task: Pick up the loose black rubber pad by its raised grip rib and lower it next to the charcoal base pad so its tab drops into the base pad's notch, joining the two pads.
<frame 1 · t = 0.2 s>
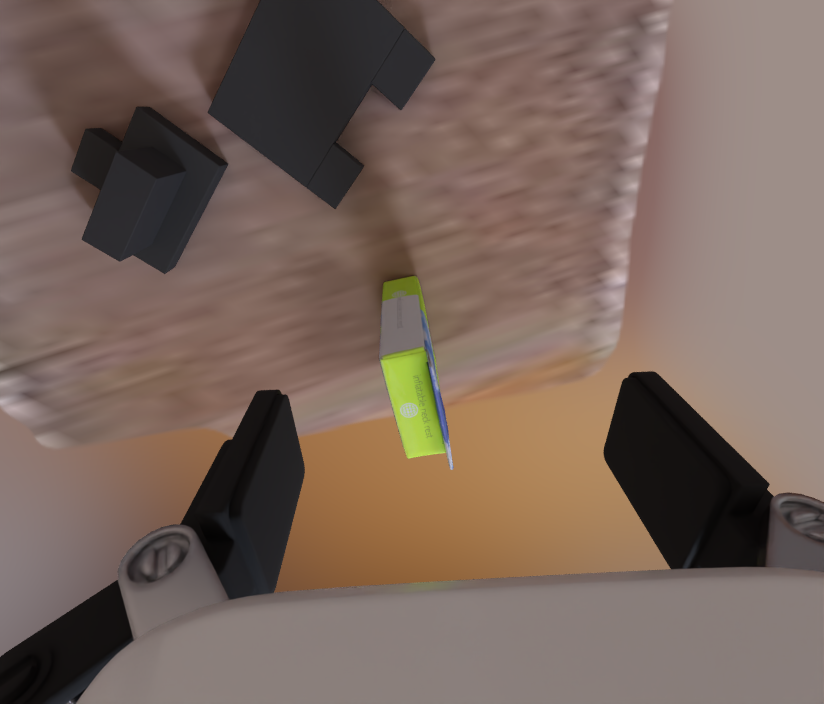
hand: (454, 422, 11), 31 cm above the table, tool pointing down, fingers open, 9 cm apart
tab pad: (163, 194, 37), on the table
box: (411, 321, 44), on the table
base pad: (323, 87, 33), on the table
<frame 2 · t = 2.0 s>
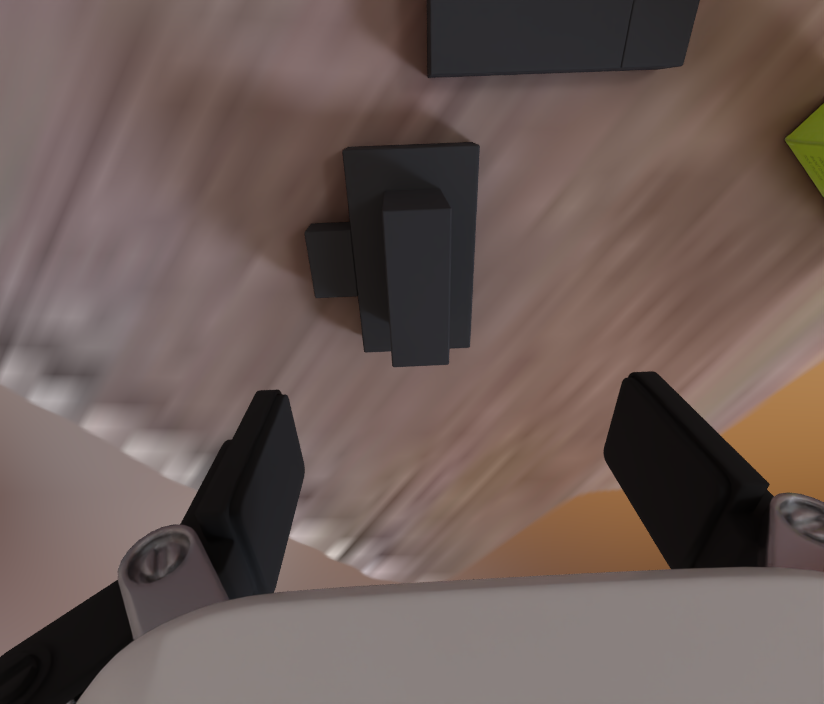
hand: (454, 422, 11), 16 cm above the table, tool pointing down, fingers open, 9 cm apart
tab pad: (413, 251, 25), on the table
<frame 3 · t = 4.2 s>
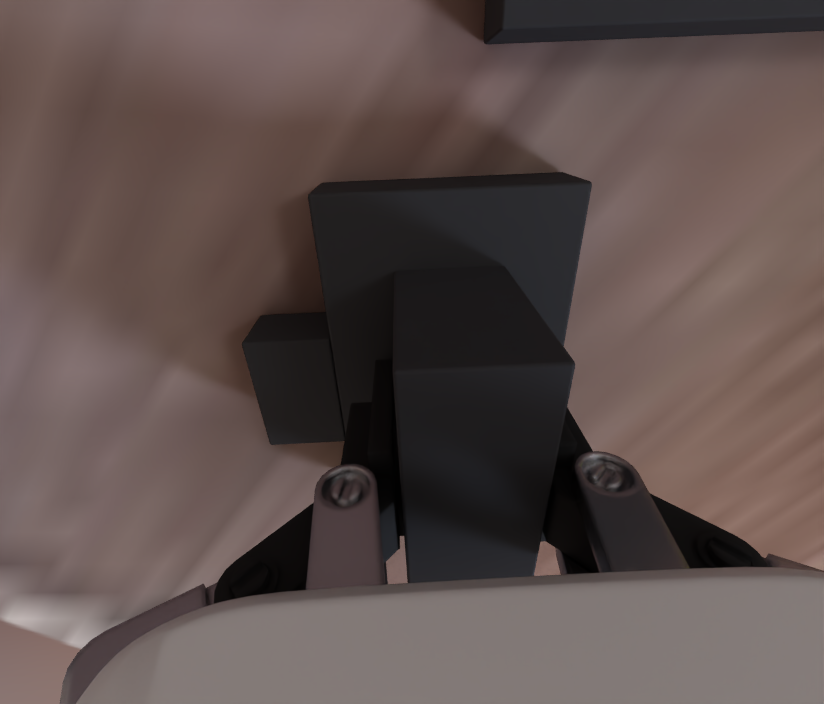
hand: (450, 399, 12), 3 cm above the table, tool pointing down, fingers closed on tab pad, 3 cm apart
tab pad: (442, 356, 15), on the table, touching gripper
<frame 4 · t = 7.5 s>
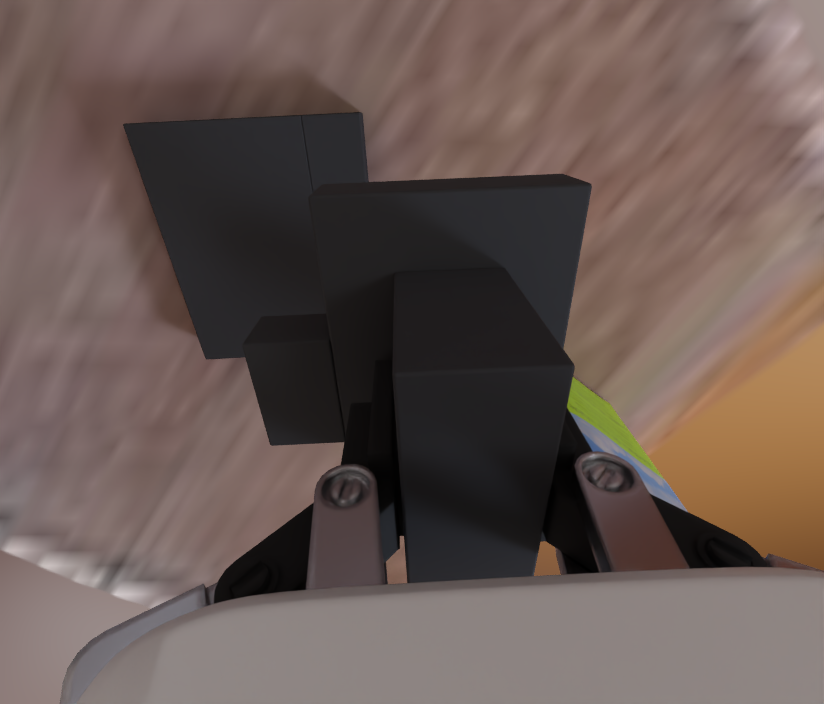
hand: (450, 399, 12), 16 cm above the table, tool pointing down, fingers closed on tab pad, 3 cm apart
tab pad: (442, 358, 15), point 14 cm above the table, touching gripper
box: (550, 385, 32), on the table
base pad: (279, 244, 26), on the table
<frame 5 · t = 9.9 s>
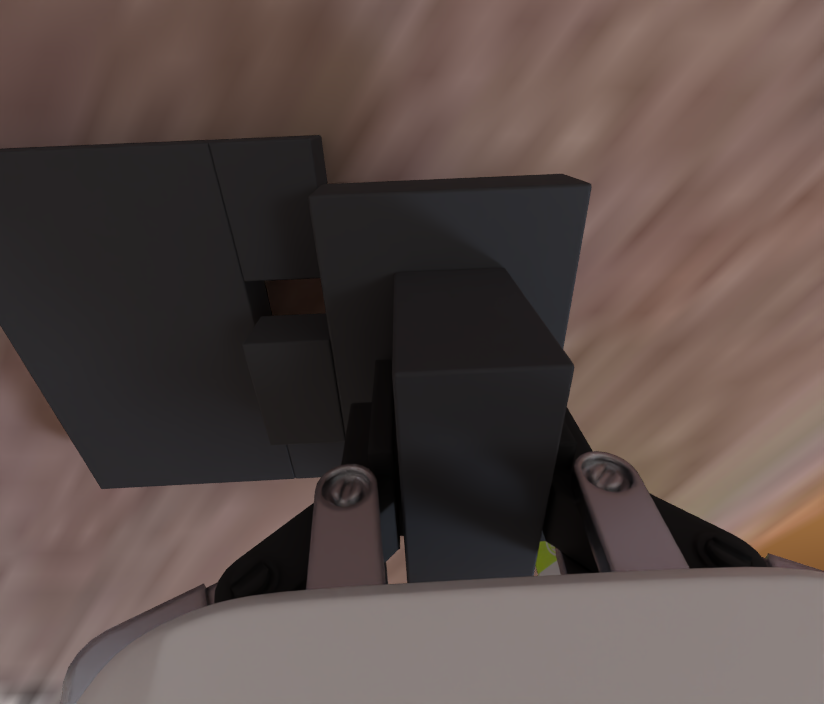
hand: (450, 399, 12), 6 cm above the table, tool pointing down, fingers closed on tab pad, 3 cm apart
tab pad: (442, 357, 15), point 3 cm above the table, touching gripper
box: (593, 499, 24), on the table
base pad: (203, 329, 17), on the table
when the fingers open (2 cm above the table, at t = 11.1 s): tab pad stays where it is, on the table.
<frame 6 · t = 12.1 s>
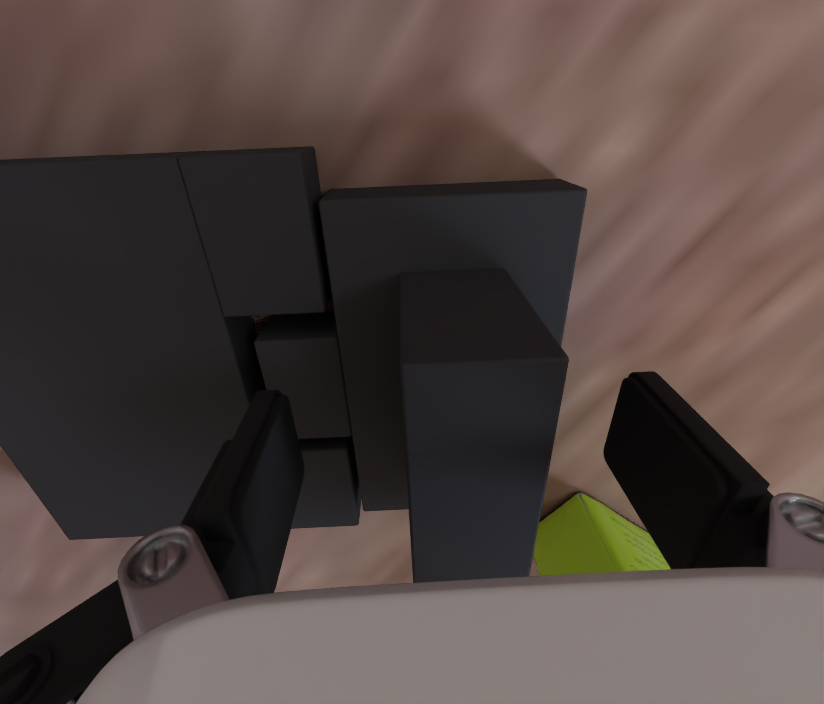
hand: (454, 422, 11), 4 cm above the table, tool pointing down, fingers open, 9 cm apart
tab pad: (445, 355, 15), on the table
box: (617, 543, 21), on the table
base pad: (182, 364, 15), on the table
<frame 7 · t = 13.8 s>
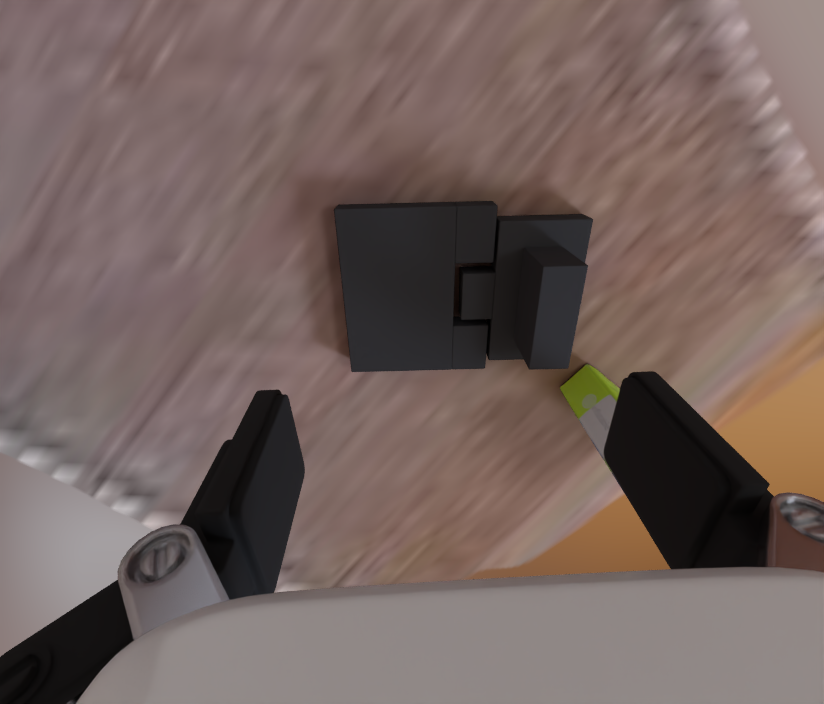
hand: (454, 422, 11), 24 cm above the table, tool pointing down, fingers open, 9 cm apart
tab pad: (529, 287, 35), on the table
box: (606, 399, 41), on the table
base pad: (416, 288, 35), on the table
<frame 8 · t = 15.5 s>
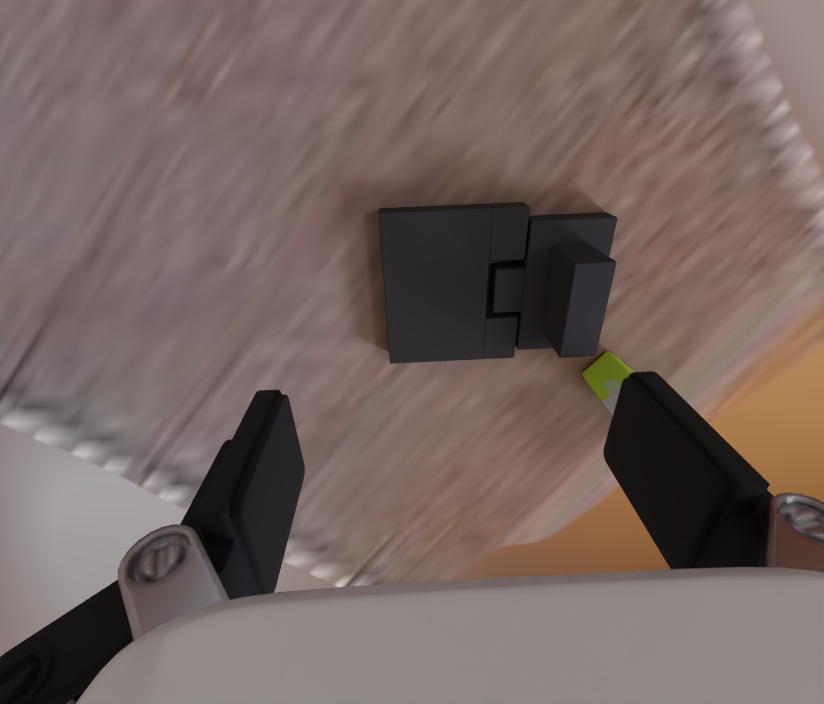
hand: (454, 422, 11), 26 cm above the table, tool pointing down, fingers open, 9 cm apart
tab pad: (555, 281, 37), on the table
box: (623, 383, 44), on the table
base pad: (450, 284, 37), on the table
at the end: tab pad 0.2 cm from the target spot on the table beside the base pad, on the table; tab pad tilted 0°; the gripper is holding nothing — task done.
